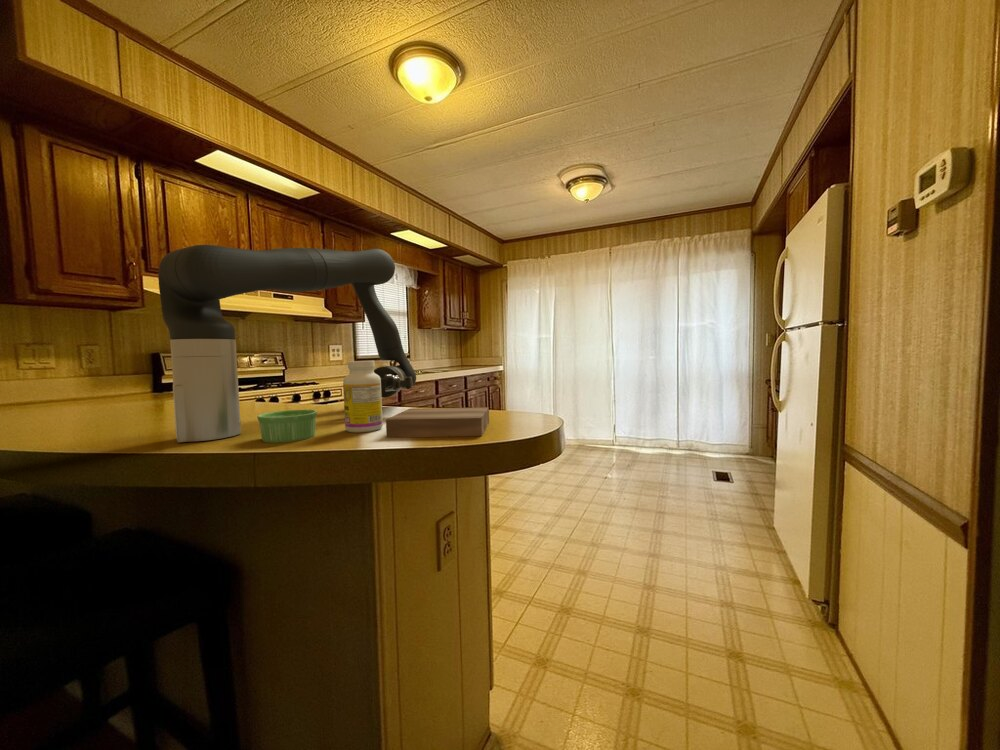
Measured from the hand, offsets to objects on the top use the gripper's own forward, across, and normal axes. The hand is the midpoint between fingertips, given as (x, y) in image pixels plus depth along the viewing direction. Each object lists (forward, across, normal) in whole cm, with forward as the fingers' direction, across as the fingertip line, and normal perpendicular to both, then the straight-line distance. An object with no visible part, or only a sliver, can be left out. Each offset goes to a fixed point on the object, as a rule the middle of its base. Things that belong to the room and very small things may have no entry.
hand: (373, 385), depth 82 cm
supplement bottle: (+10, 0, +8) cm, 12 cm away
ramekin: (+14, -12, +8) cm, 20 cm away
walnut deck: (+13, +14, +8) cm, 21 cm away
